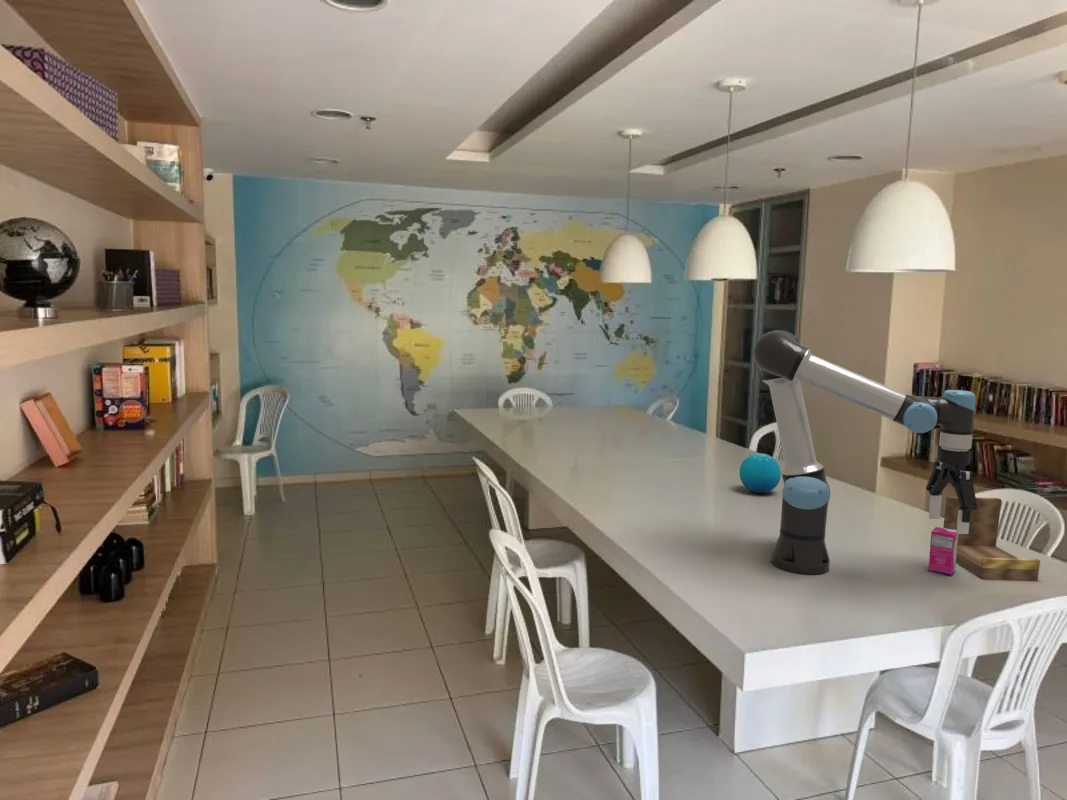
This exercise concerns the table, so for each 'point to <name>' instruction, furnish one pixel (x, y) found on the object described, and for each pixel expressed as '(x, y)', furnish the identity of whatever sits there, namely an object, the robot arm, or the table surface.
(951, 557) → the supplement box
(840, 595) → the table surface
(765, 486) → the decorative orb
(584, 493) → the table surface
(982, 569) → the display shelf
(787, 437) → the robot arm
